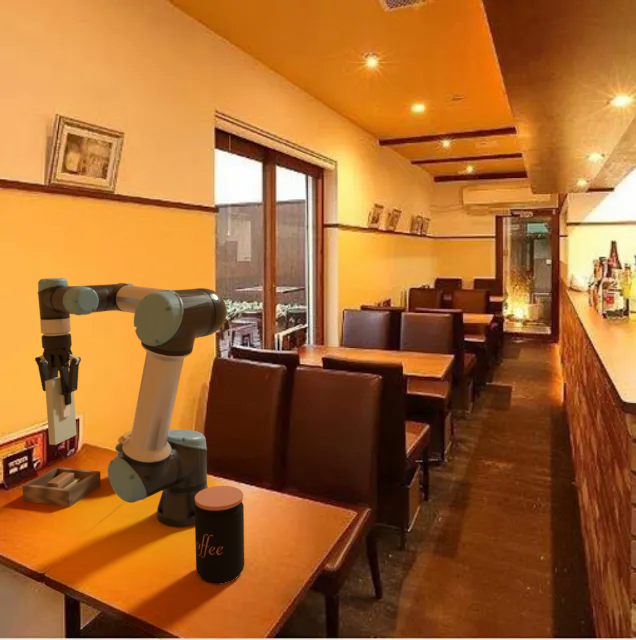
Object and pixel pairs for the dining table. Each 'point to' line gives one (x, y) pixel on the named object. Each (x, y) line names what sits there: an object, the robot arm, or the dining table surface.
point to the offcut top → (61, 480)
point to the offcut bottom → (73, 483)
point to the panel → (58, 413)
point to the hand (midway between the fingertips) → (61, 415)
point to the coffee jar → (219, 533)
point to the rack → (60, 496)
